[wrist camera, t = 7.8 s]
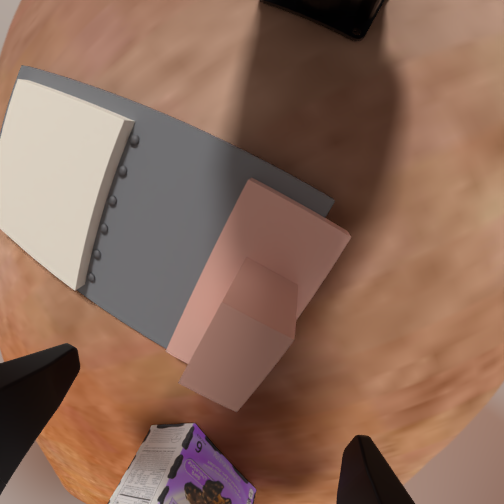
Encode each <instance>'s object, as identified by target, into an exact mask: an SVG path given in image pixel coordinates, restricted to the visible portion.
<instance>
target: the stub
mask: <svg viewBox="0 0 504 504" xmlns="http://www.w3.org/2000/svg"><path fill="white" fill-rule="evenodd" d="M350 238H351V236H350V234H349V232H348V231H347V230H345V229H343V228H342V227H340V226H338V225H336V224H335V223H333V222H331V221H330V220H328V219H326V218H324V217H323V216H321V215H319V214H318V213H316V212H314V211H312V210H311V209H309V208H307V207H305V206H303V205H302V204H300V203H298V202H296V201H295V200H293V199H291V198H289V197H287V196H285V195H284V194H282V193H280V192H278V191H276V190H274V189H273V188H271V187H269V186H267V185H265V184H263V183H261V182H259V181H258V180H256V179H254V178H250V179H248V181H247V183H246V185H245V187H244V189H243V190H242V192H241V194H240V196H239V198H238V200H237V202H236V204H235V206H234V208H233V210H232V212H231V214H230V216H229V218H228V220H227V222H226V224H225V226H224V228H223V230H222V232H221V234H220V236H219V238H218V240H217V242H216V244H215V247H214V249H213V251H212V253H211V255H210V257H209V259H208V261H207V263H206V265H205V267H204V269H203V271H202V273H201V276H200V278H199V280H198V282H197V284H196V286H195V288H194V290H193V292H192V295H191V297H190V299H189V301H188V303H187V305H186V307H185V310H184V312H183V314H182V316H181V318H180V320H179V323H178V325H177V327H176V329H175V331H174V334H173V336H172V338H171V340H170V342H169V345H168V347H167V349H166V352H167V353H169V354H171V355H172V356H174V357H176V358H178V359H180V360H181V361H183V362H185V363H187V364H188V365H187V367H186V369H185V371H184V373H183V375H182V377H181V378H180V380H179V382H178V383H179V384H181V385H183V386H185V387H186V388H188V389H190V390H192V391H194V392H196V393H198V394H200V395H202V396H204V397H206V398H208V399H210V400H212V401H214V402H216V403H218V404H220V405H222V406H224V407H226V408H229V409H231V410H233V411H235V412H237V411H238V410H239V409H240V408H241V407H242V406H243V404H244V403H245V402H246V401H247V400H248V398H249V397H250V396H251V395H252V394H253V392H254V391H255V390H256V389H257V387H258V386H259V385H260V384H261V382H262V381H263V380H264V379H265V377H266V376H267V375H268V374H269V372H270V371H271V370H272V369H273V367H274V366H275V365H276V364H277V362H278V361H279V360H280V358H281V357H282V356H283V354H284V353H285V352H286V351H287V349H288V348H289V347H290V345H291V344H292V343H293V341H294V340H295V328H296V320H297V319H298V317H299V316H300V315H301V313H302V312H303V310H304V309H305V307H306V306H307V304H308V303H309V301H310V300H311V299H312V297H313V296H314V294H315V293H316V291H317V290H318V288H319V287H320V285H321V284H322V282H323V281H324V279H325V278H326V276H327V275H328V273H329V272H330V270H331V268H332V267H333V265H334V264H335V262H336V261H337V259H338V258H339V256H340V254H341V253H342V251H343V250H344V248H345V247H346V245H347V243H348V242H349V240H350Z"/></svg>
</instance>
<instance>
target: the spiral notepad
mask: <svg viewBox="0 0 504 504" xmlns="http://www.w3.org/2000/svg"><path fill="white" fill-rule="evenodd" d="M134 123H135V121H133V120H131V119H128V118H126V117H124V116H121V115H119V114H117V113H114V112H112V111H109V110H107V109H105V108H102V107H100V106H97V105H95V104H92V103H90V102H87V101H85V100H82V99H79V98H77V97H74V96H71V95H69V94H66V93H63V92H61V91H58V90H55V89H53V88H50V87H47V86H44V85H41V84H38V83H36V82H33V81H30V80H23V79H18V80H17V83H16V86H15V88H14V91H13V94H12V98H11V101H10V104H9V107H8V111H7V114H6V118H5V122H4V125H3V129H2V133H1V138H0V229H1V230H2V231H3V232H5V233H6V234H7V235H8V236H9V237H10V238H11V239H12V240H13V241H14V242H16V243H17V244H18V245H19V246H20V247H21V248H22V249H23V250H25V251H26V252H27V253H28V254H29V255H30V256H32V257H33V258H34V259H35V260H36V261H38V262H39V263H40V264H41V265H42V266H44V267H45V268H46V269H47V270H49V271H50V272H51V273H52V274H54V275H55V276H56V277H57V278H59V279H60V280H61V281H63V282H64V283H65V284H67V285H68V286H69V287H71V288H72V289H73V290H75V291H76V290H77V289H79V288H80V287H82V286H83V285H85V281H86V276H87V271H88V267H89V262H90V258H91V254H92V250H93V246H94V242H95V238H96V234H97V231H98V227H99V223H100V220H101V216H102V213H103V210H104V206H105V203H106V200H107V197H108V193H109V190H110V187H111V184H112V181H113V178H114V175H115V173H116V170H117V167H118V164H119V161H120V159H121V156H122V153H123V151H124V148H125V146H126V143H127V140H128V138H129V135H130V133H131V131H132V128H133V126H134ZM139 140H140V139H139V136H138V135H132V136H131V137H130V138H129V142H130V144H131V145H137V144H138V143H139ZM118 174H119V175H120V176H125V175H126V174H127V168H126V167H125V166H120V167H119V168H118ZM116 203H117V198H116V197H115V196H110V197H109V198H108V204H109V205H110V206H113V205H115V204H116ZM99 229H100V232H101V233H106V232H107V231H108V226H107V225H106V224H101V225H100V227H99ZM93 257H94V258H95V259H98V258H100V257H101V252H100V251H99V250H94V251H93ZM87 278H88V280H89V281H90V282H93V281H95V276H94V274H93V273H90V274H88V276H87Z"/></svg>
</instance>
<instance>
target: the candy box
mask: <svg viewBox="0 0 504 504" xmlns="http://www.w3.org/2000/svg"><path fill="white" fill-rule="evenodd" d="M255 494H256V489H255V488H254V487H253V485H252V484H251V483H250V482H248V481H247V480H246V479H245V478H244V477H243V476H242V475H241V474H240V473H239V472H238V471H237V470H236V469H235V468H234V466H233V465H232V464H231V463H230V462H229V461H228V460H227V459H226V458H225V457H224V456H223V455H222V454H221V452H220V451H219V450H218V449H217V448H216V447H215V446H214V445H213V443H212V442H211V441H210V440H209V439H208V438H207V436H206V435H205V434H204V433H203V432H202V431H201V429H200V428H199V427H198V426H197V425H196V423H185V424H163V425H152V426H151V427H150V430H149V432H148V434H147V436H146V437H145V439H144V441H143V443H142V444H141V446H140V448H139V450H138V451H137V453H136V455H135V457H134V459H133V460H132V462H131V464H130V466H129V467H128V469H127V471H126V472H125V474H124V476H123V477H122V479H121V481H120V483H119V485H118V486H117V488H116V490H115V492H114V493H113V495H112V496H111V498H110V500H109V502H108V504H253V503H254V498H255Z"/></svg>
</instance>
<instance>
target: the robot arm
mask: <svg viewBox="0 0 504 504" xmlns="http://www.w3.org/2000/svg"><path fill="white" fill-rule="evenodd" d="M260 1H261V2H263V3H265V4H268V5H271V6H274V7H277V8H280V9H283V10H285V11H288V12H291V13H293V14H296V15H298V16H301V17H303V18H306V19H308V20H310V21H313V22H315V23H317V24H320V25H322V26H324V27H326V28H328V29H331V30H333V31H335V32H337V33H339V34H341V35H343V36H345V37H347V38H349V39H351V40H353V41H361V40H362V39H363V38H364V36H365V35H366V33H367V31H368V29H369V27H370V26H371V24H372V22H373V20H374V18H375V17H376V15H377V13H378V11H379V9H380V8H381V6H382V4H383V2H384V0H260ZM353 30H356V31H358V32H359V33H360V35H355V34H353V32H352V31H353ZM79 370H80V361H79V355H78V350H77V348H76V347H74V346H72V345H70V344H68V343H65V344H62V345H58V346H55V347H52V348H49V349H46V350H43V351H39V352H36V353H33V354H30V355H26V356H23V357H20V358H17V359H13V360H10V361H7V362H3V363H0V495H1V493H2V491H3V489H4V488H5V486H6V484H7V483H8V481H9V480H10V478H11V476H12V475H13V473H14V472H15V470H16V469H17V467H18V466H19V464H20V462H21V461H22V459H23V458H24V456H25V455H26V453H27V452H28V450H29V449H30V447H31V446H32V444H33V443H34V441H35V440H36V439H37V437H38V436H39V434H40V433H41V431H42V430H43V428H44V427H45V426H46V424H47V423H48V421H49V420H50V418H51V417H52V416H53V414H54V413H55V411H56V410H57V409H58V407H59V406H60V404H61V402H62V401H63V399H64V397H65V395H66V394H67V392H68V390H69V388H70V387H71V385H72V383H73V381H74V380H75V378H76V376H77V374H78V373H79ZM337 504H415V503H414V501H413V500H412V498H411V497H410V495H409V494H408V492H407V491H406V489H405V488H404V486H403V485H402V484H401V482H400V481H399V479H398V478H397V476H396V475H395V473H394V472H393V470H392V469H391V467H390V466H389V464H388V463H387V461H386V460H385V458H384V457H383V455H382V454H381V453H380V451H379V450H378V448H377V447H376V445H375V444H374V442H373V441H372V439H371V438H370V437H369V436H366V435H356V436H355V437H354V438H353V439H352V441H351V442H350V443H349V444H348V446H347V447H346V448H345V450H344V452H343V457H342V465H341V472H340V478H339V485H338V491H337Z"/></svg>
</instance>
